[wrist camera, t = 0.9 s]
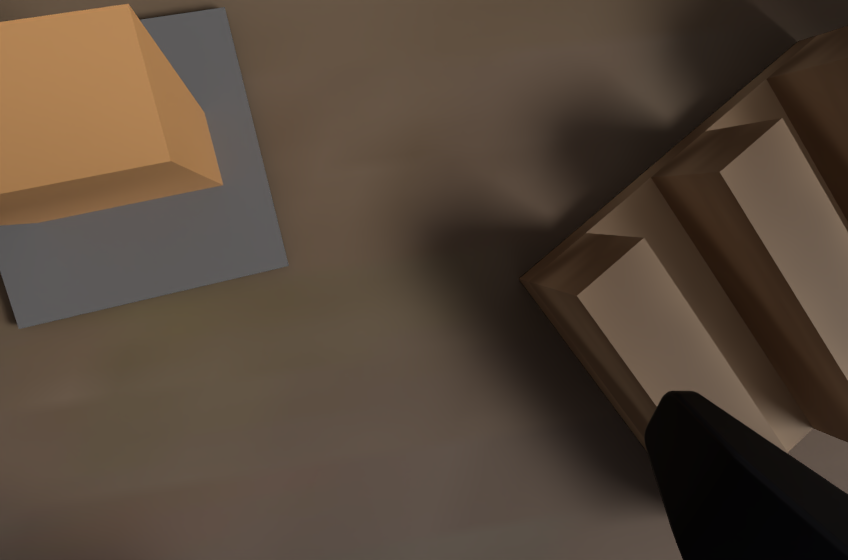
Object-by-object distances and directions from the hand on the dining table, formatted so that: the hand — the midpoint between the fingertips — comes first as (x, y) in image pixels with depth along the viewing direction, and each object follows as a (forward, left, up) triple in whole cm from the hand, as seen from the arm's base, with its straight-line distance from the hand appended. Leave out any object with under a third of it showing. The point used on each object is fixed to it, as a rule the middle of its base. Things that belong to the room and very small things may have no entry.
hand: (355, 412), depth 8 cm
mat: (0, +7, -16) cm, 17 cm away
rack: (+11, -16, -16) cm, 25 cm away
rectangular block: (0, +7, -15) cm, 17 cm away
